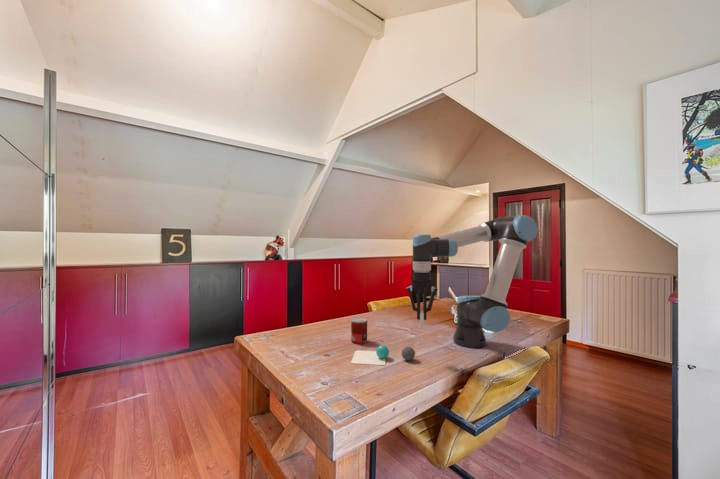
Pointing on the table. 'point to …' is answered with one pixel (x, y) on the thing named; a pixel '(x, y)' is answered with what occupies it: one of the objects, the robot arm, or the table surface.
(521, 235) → the robot arm
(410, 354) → the gray ball
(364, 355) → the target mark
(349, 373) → the table surface
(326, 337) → the table surface
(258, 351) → the table surface
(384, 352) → the object ball
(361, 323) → the canned food
